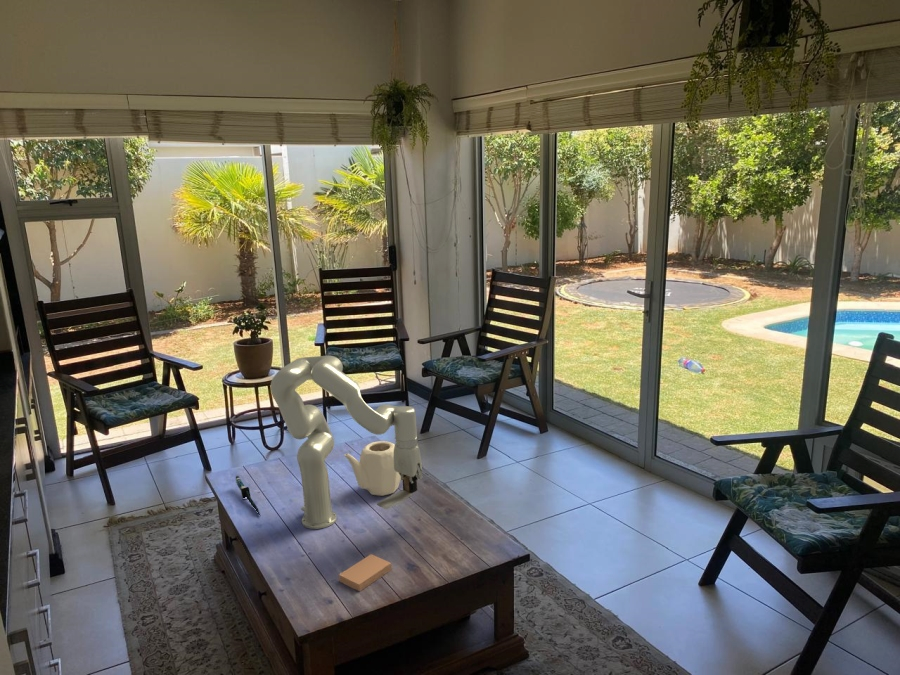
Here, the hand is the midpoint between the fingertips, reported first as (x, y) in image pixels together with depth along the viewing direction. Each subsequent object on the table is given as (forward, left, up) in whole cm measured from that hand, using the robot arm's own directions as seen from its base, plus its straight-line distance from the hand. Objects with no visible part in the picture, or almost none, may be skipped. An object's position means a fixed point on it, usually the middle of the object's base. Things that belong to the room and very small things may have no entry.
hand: (410, 490), depth 237 cm
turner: (0, -6, -1) cm, 6 cm away
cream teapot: (-30, +12, -14) cm, 35 cm away
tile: (+9, -24, -13) cm, 29 cm away
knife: (-65, -26, -14) cm, 71 cm away
